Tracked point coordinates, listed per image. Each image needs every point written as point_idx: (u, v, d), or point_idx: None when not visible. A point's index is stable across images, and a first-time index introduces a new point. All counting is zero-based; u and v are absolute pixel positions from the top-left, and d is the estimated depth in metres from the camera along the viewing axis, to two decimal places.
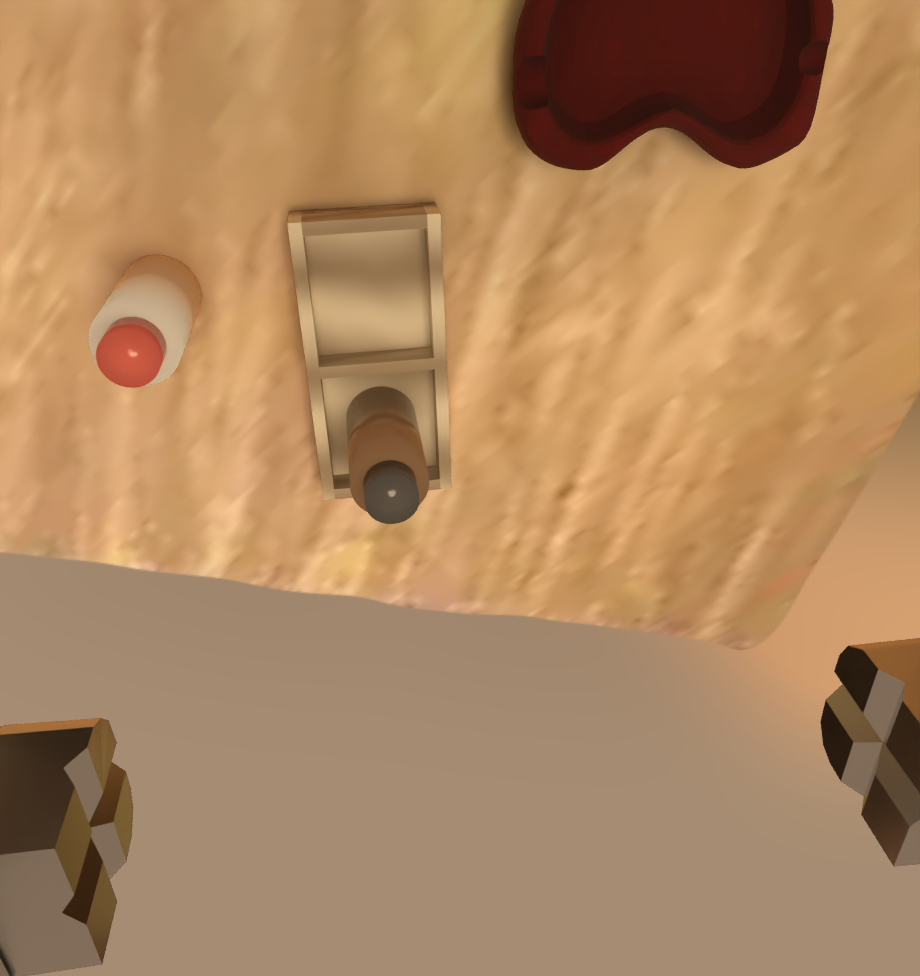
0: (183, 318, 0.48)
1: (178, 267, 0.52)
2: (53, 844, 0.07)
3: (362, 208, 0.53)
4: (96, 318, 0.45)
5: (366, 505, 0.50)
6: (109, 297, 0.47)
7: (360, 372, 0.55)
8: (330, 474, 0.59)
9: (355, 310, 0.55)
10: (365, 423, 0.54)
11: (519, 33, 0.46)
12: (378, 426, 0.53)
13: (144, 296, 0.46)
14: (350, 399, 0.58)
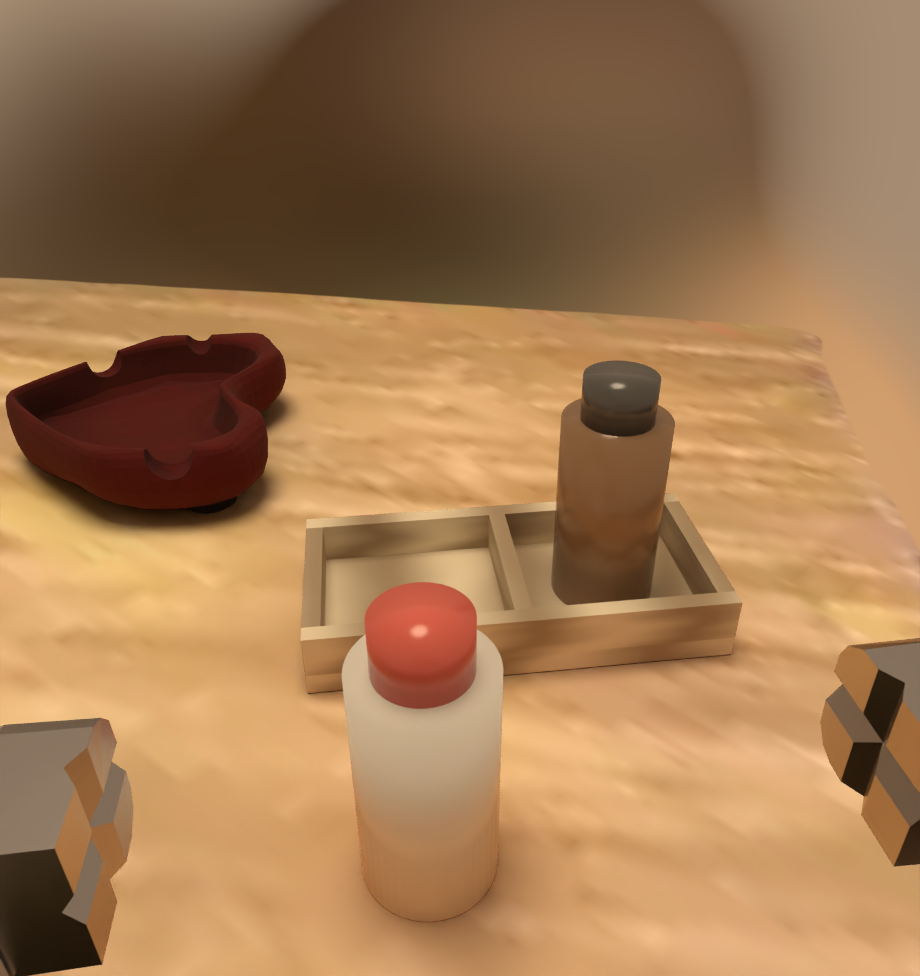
0: None
1: None
2: (53, 844, 0.07)
3: None
4: (369, 715, 0.24)
5: (636, 391, 0.35)
6: (365, 774, 0.26)
7: (517, 572, 0.39)
8: (692, 596, 0.38)
9: None
10: (569, 516, 0.38)
11: (126, 479, 0.46)
12: (561, 487, 0.38)
13: None
14: None
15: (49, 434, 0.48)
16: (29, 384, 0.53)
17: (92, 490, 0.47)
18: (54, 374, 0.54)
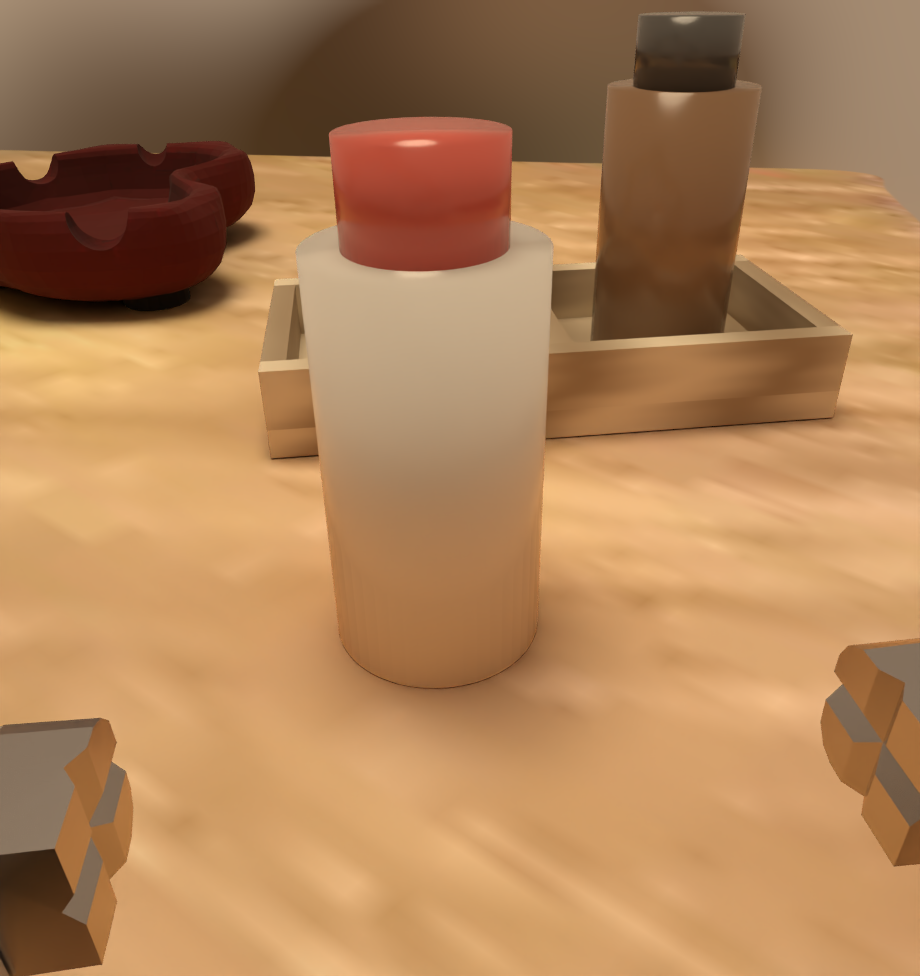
0: None
1: None
2: (53, 844, 0.07)
3: None
4: (337, 276, 0.15)
5: (714, 17, 0.25)
6: (336, 413, 0.16)
7: None
8: (784, 330, 0.28)
9: None
10: (618, 227, 0.28)
11: (44, 249, 0.36)
12: (606, 190, 0.29)
13: None
14: None
15: None
16: None
17: (5, 274, 0.38)
18: None
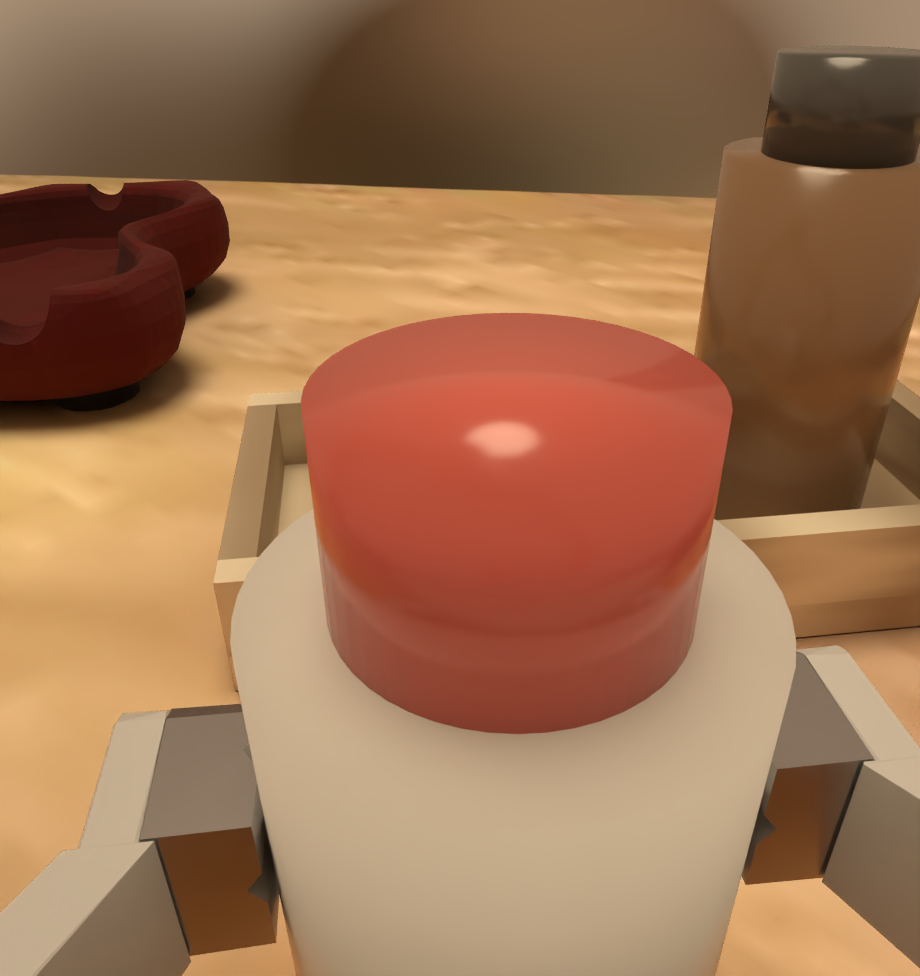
0: None
1: None
2: (247, 823, 0.07)
3: None
4: (318, 762, 0.06)
5: (905, 59, 0.17)
6: (318, 955, 0.08)
7: None
8: None
9: None
10: (734, 353, 0.20)
11: None
12: (718, 299, 0.20)
13: None
14: None
15: None
16: None
17: None
18: None
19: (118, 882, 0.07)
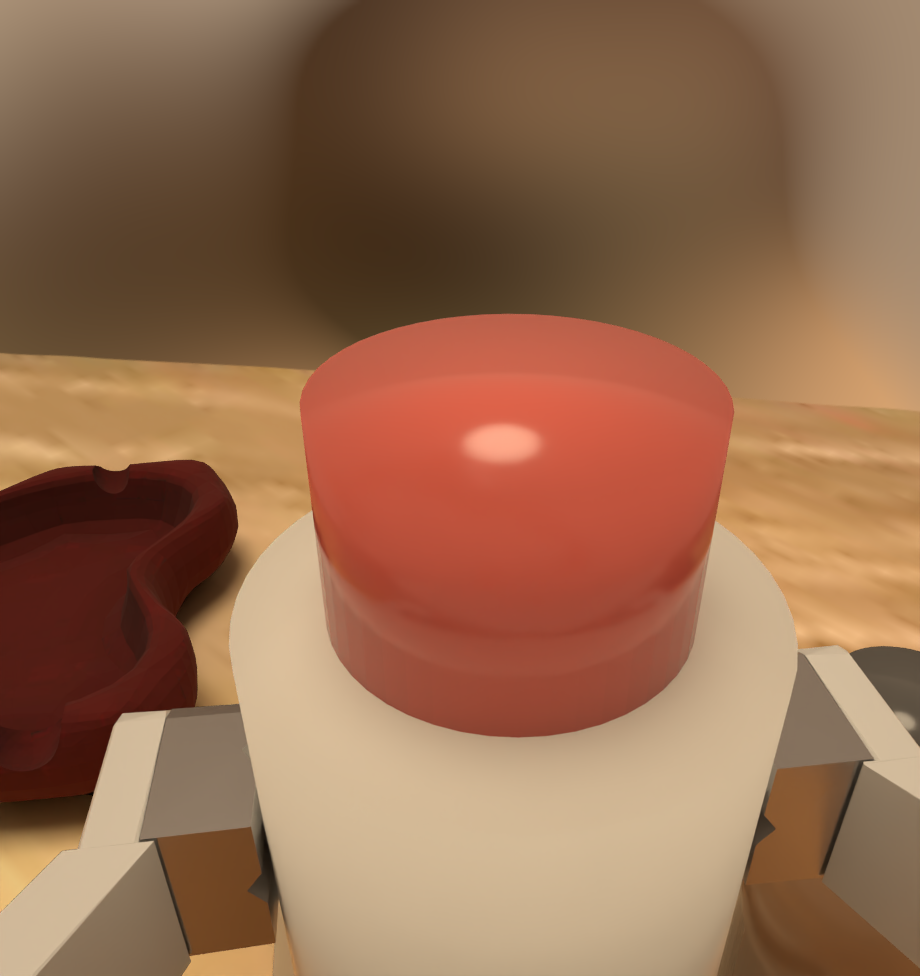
0: None
1: None
2: (248, 823, 0.07)
3: None
4: (317, 765, 0.06)
5: None
6: (318, 959, 0.07)
7: None
8: None
9: None
10: (785, 942, 0.19)
11: None
12: (768, 885, 0.19)
13: None
14: None
15: None
16: None
17: None
18: None
19: (118, 882, 0.07)
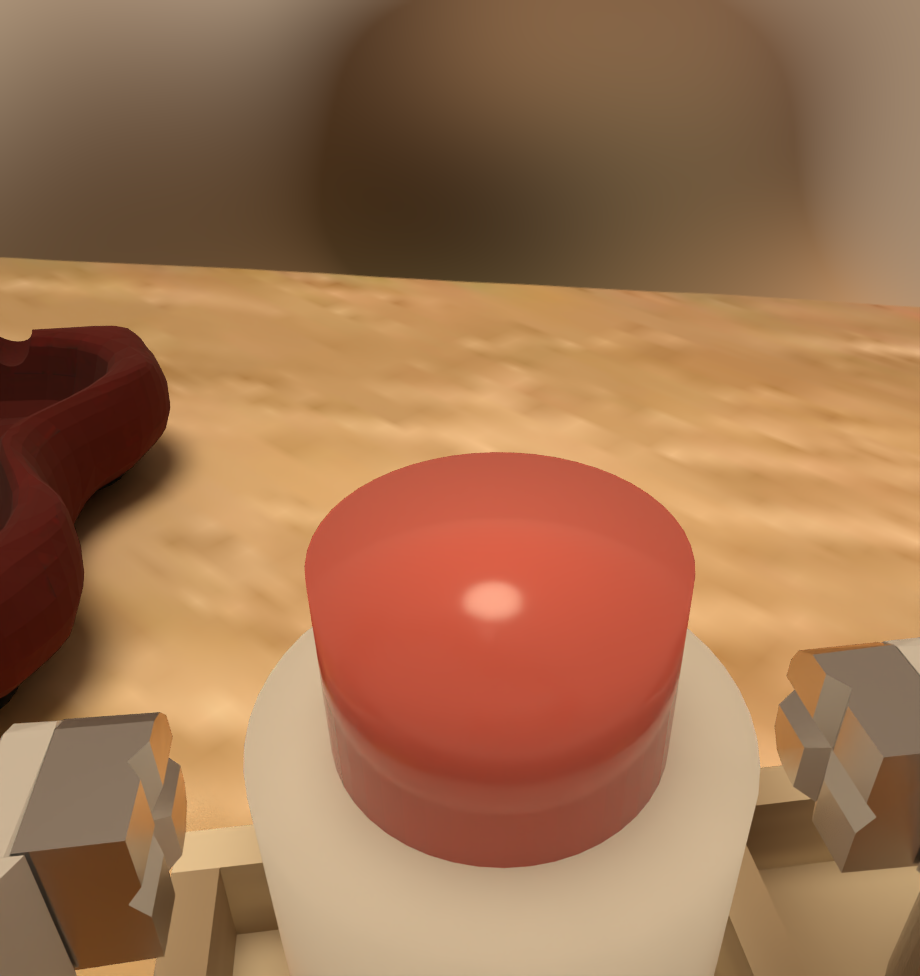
0: None
1: None
2: (123, 836, 0.07)
3: None
4: (325, 898, 0.07)
5: None
6: None
7: None
8: None
9: None
10: None
11: None
12: None
13: None
14: None
15: None
16: None
17: None
18: None
19: None
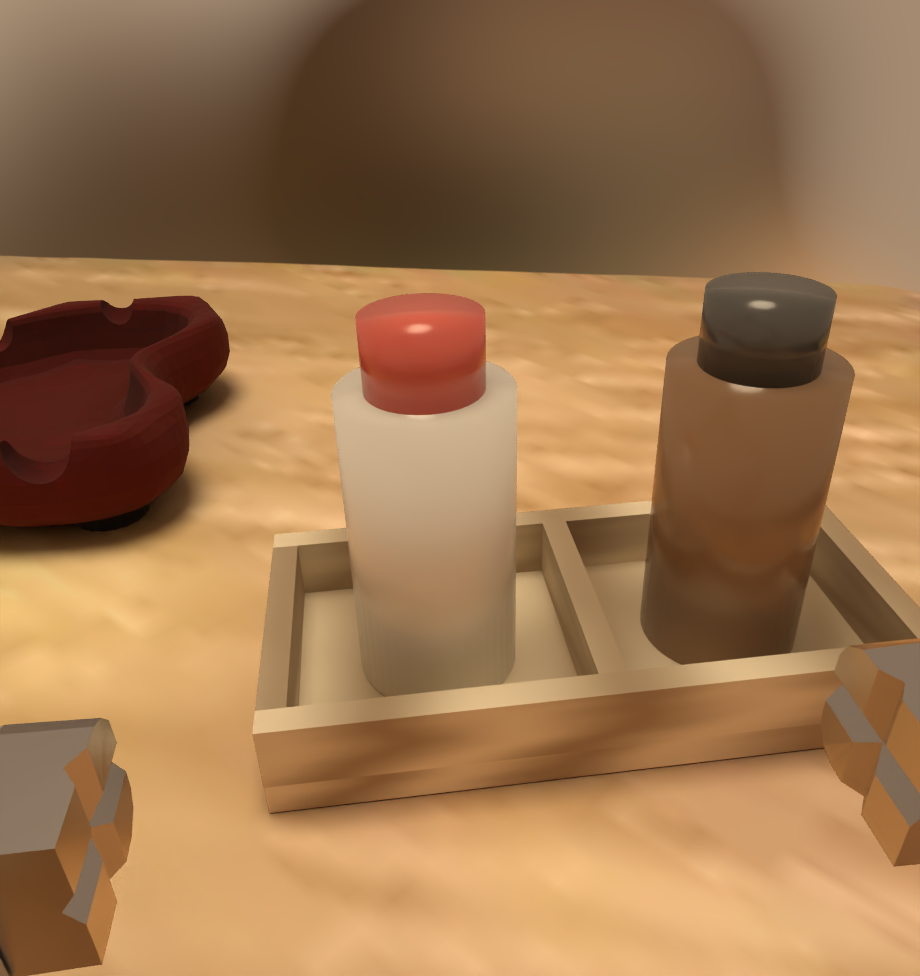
0: None
1: None
2: (53, 844, 0.07)
3: None
4: (362, 420, 0.21)
5: (802, 310, 0.21)
6: (360, 510, 0.22)
7: (595, 610, 0.25)
8: None
9: None
10: (680, 521, 0.24)
11: None
12: (665, 476, 0.24)
13: None
14: None
15: None
16: None
17: None
18: None
19: None
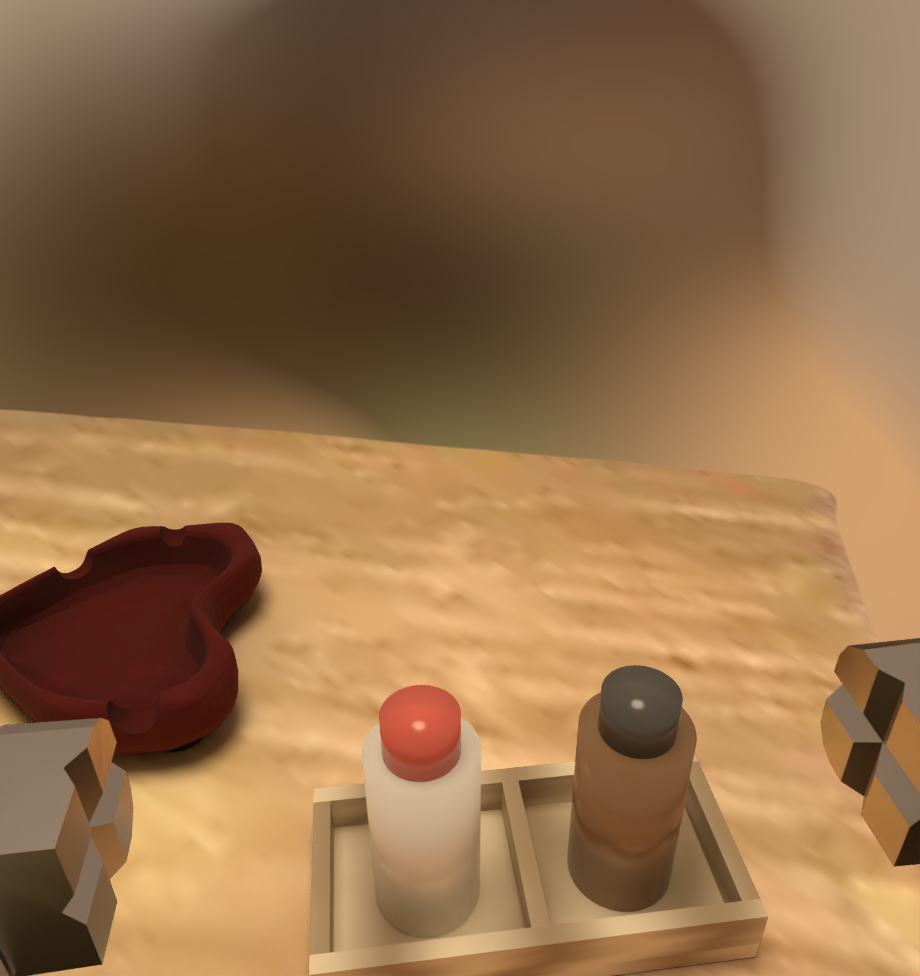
0: None
1: None
2: (53, 844, 0.07)
3: None
4: (382, 787, 0.33)
5: (657, 721, 0.33)
6: (379, 828, 0.35)
7: (533, 869, 0.38)
8: (715, 906, 0.36)
9: None
10: (587, 822, 0.36)
11: None
12: (578, 791, 0.37)
13: None
14: (595, 906, 0.38)
15: (11, 676, 0.46)
16: None
17: None
18: (21, 585, 0.53)
19: None
